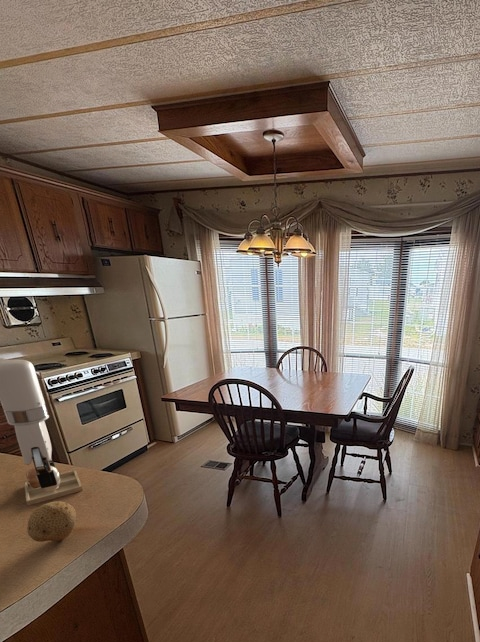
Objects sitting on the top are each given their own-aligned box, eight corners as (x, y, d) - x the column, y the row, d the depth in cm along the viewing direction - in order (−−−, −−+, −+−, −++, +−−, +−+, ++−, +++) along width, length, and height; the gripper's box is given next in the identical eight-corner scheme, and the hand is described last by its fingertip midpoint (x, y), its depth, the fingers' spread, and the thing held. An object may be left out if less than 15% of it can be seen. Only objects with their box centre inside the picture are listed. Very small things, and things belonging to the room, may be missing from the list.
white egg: (44, 495, 85) (36, 472, 82) (38, 489, 87) (31, 466, 85) (65, 488, 88) (58, 466, 85) (59, 482, 90) (52, 460, 88)
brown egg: (27, 491, 99) (20, 472, 96) (35, 484, 103) (29, 465, 100) (45, 490, 100) (38, 471, 97) (52, 482, 104) (46, 464, 101)
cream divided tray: (28, 506, 93) (26, 501, 92) (25, 487, 101) (24, 482, 101) (83, 491, 100) (81, 486, 100) (76, 474, 109) (75, 469, 109)
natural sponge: (49, 558, 76) (36, 521, 72) (25, 546, 79) (11, 510, 75) (89, 534, 83) (79, 499, 80) (66, 524, 87) (55, 490, 83)
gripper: (10, 406, 84) (33, 471, 91) (0, 428, 71) (28, 502, 78) (48, 402, 88) (67, 464, 95) (45, 422, 75) (67, 492, 82)
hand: (49, 481), depth 87 cm, fingers closed on white egg, 4 cm apart
